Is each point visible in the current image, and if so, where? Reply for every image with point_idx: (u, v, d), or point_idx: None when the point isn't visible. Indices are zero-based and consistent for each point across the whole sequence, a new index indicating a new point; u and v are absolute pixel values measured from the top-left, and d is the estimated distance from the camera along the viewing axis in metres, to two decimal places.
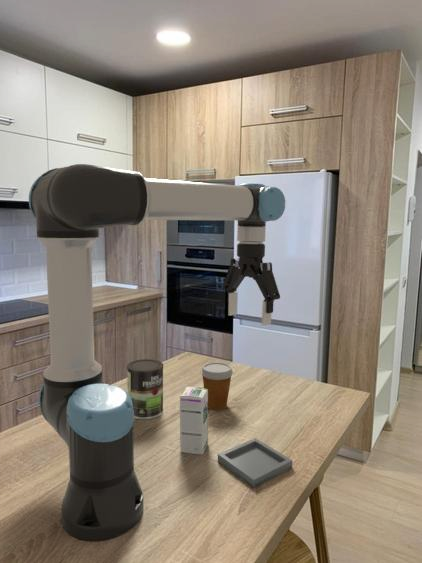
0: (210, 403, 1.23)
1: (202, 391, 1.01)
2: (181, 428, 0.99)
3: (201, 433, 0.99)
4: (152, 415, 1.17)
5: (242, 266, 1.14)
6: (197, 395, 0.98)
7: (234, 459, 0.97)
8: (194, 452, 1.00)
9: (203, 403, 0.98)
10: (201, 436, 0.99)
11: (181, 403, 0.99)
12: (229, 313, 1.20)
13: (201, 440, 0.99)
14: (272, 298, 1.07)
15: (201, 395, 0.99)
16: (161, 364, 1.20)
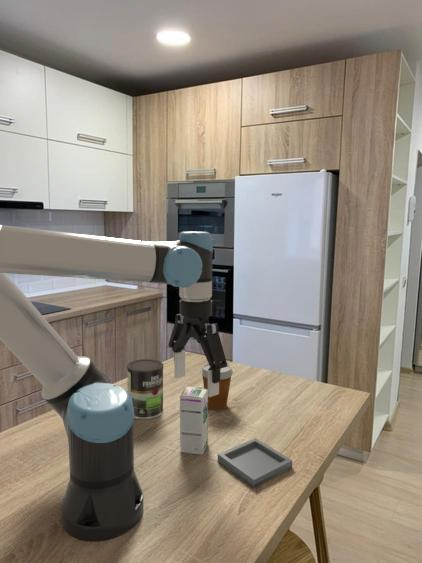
0: (210, 403, 1.23)
1: (202, 391, 1.01)
2: (181, 428, 0.99)
3: (201, 433, 0.99)
4: (152, 415, 1.17)
5: (186, 325, 0.98)
6: (197, 395, 0.98)
7: (234, 459, 0.97)
8: (194, 452, 1.00)
9: (203, 403, 0.98)
10: (201, 436, 0.99)
11: (181, 403, 0.99)
12: (175, 376, 1.05)
13: (201, 440, 0.99)
14: (217, 367, 0.91)
15: (201, 395, 0.99)
16: (161, 364, 1.20)
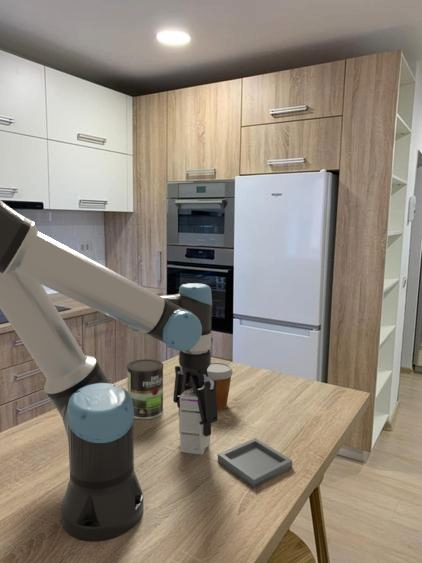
0: None
1: None
2: (181, 428, 0.99)
3: None
4: (152, 415, 1.17)
5: (185, 375, 1.00)
6: None
7: (234, 459, 0.97)
8: (194, 452, 1.00)
9: None
10: None
11: (181, 403, 0.99)
12: None
13: None
14: (208, 422, 0.95)
15: None
16: (161, 364, 1.20)
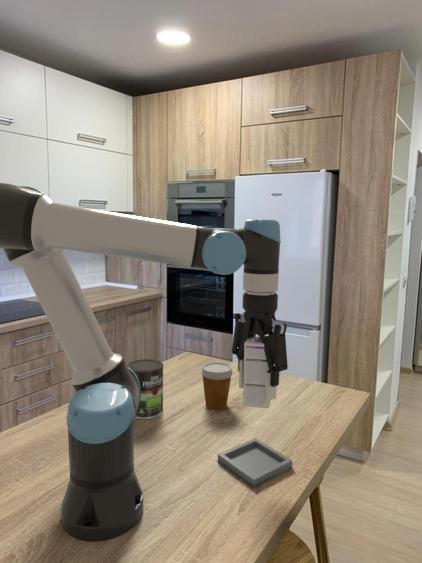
0: (210, 403, 1.23)
1: None
2: (245, 379, 0.91)
3: None
4: (152, 415, 1.17)
5: (249, 321, 0.91)
6: None
7: (234, 459, 0.97)
8: (259, 405, 0.91)
9: None
10: None
11: (245, 351, 0.90)
12: (240, 385, 0.96)
13: None
14: (278, 370, 0.86)
15: None
16: (161, 364, 1.20)
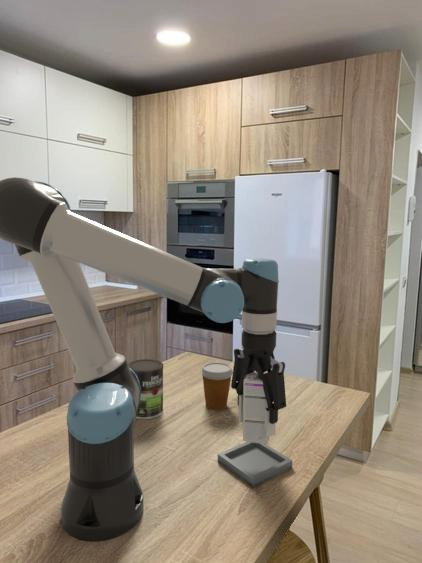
0: (210, 403, 1.23)
1: None
2: (244, 415, 0.92)
3: None
4: (152, 415, 1.17)
5: (248, 358, 0.92)
6: None
7: (234, 459, 0.97)
8: (258, 441, 0.92)
9: None
10: None
11: (245, 388, 0.91)
12: (239, 420, 0.97)
13: None
14: (276, 408, 0.87)
15: None
16: (161, 364, 1.20)
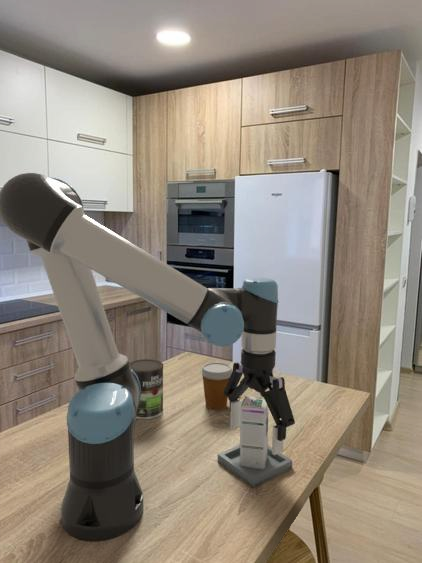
0: (210, 403, 1.23)
1: (263, 401, 0.94)
2: (241, 441, 0.93)
3: (263, 446, 0.92)
4: (152, 415, 1.17)
5: (247, 377, 0.93)
6: (259, 406, 0.92)
7: (234, 459, 0.97)
8: (255, 466, 0.93)
9: (266, 414, 0.92)
10: (263, 450, 0.92)
11: (242, 414, 0.92)
12: (231, 426, 0.99)
13: (263, 454, 0.92)
14: (285, 426, 0.86)
15: (263, 406, 0.92)
16: (161, 364, 1.20)
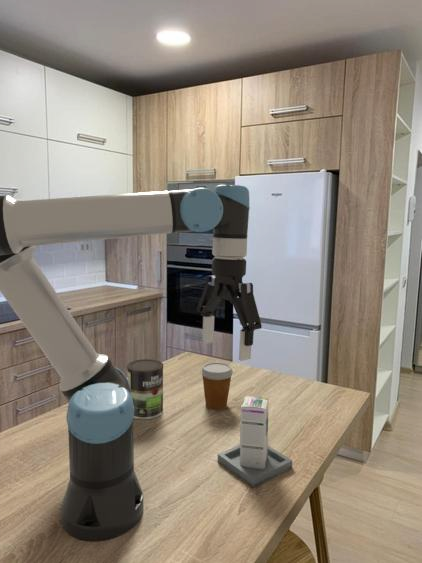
0: (210, 403, 1.23)
1: (263, 401, 0.94)
2: (241, 441, 0.93)
3: (263, 446, 0.92)
4: (152, 415, 1.17)
5: (218, 286, 0.93)
6: (259, 406, 0.92)
7: (234, 459, 0.97)
8: (255, 466, 0.93)
9: (266, 414, 0.92)
10: (263, 450, 0.92)
11: (242, 414, 0.92)
12: (203, 341, 1.00)
13: (263, 454, 0.92)
14: (251, 328, 0.86)
15: (263, 406, 0.92)
16: (161, 364, 1.20)
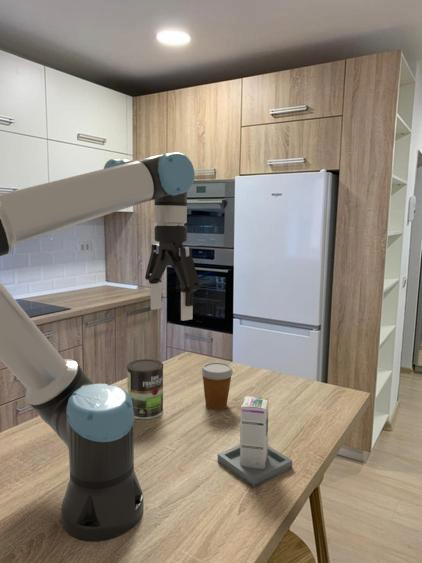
0: (210, 403, 1.23)
1: (263, 401, 0.94)
2: (241, 441, 0.93)
3: (263, 446, 0.92)
4: (152, 415, 1.17)
5: (161, 252, 0.98)
6: (259, 406, 0.92)
7: (234, 459, 0.97)
8: (255, 466, 0.93)
9: (266, 414, 0.92)
10: (263, 450, 0.92)
11: (242, 414, 0.92)
12: (151, 307, 1.05)
13: (263, 454, 0.92)
14: (190, 288, 0.91)
15: (263, 406, 0.92)
16: (161, 364, 1.20)
